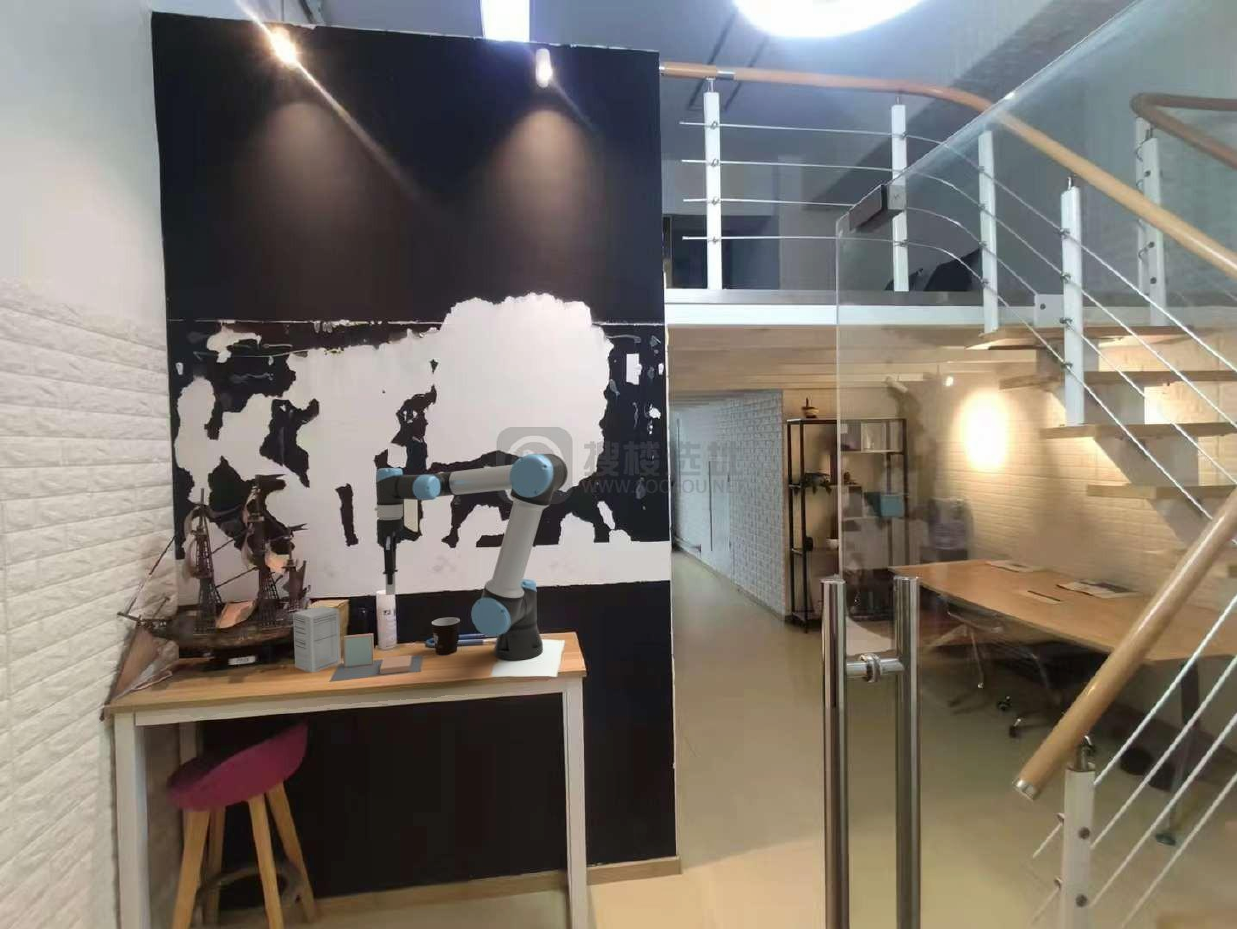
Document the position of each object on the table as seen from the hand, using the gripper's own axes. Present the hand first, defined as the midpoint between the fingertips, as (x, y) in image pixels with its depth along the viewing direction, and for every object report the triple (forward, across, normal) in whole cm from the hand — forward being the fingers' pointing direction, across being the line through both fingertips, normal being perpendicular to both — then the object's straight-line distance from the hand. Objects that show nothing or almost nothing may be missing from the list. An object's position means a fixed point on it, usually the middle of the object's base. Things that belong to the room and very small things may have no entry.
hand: (390, 594), depth 181 cm
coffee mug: (+20, +2, +16) cm, 26 cm away
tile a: (+19, +6, +2) cm, 20 cm away
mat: (+20, +9, -2) cm, 22 cm away
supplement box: (+20, +1, -20) cm, 29 cm away
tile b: (+20, +5, -8) cm, 22 cm away
